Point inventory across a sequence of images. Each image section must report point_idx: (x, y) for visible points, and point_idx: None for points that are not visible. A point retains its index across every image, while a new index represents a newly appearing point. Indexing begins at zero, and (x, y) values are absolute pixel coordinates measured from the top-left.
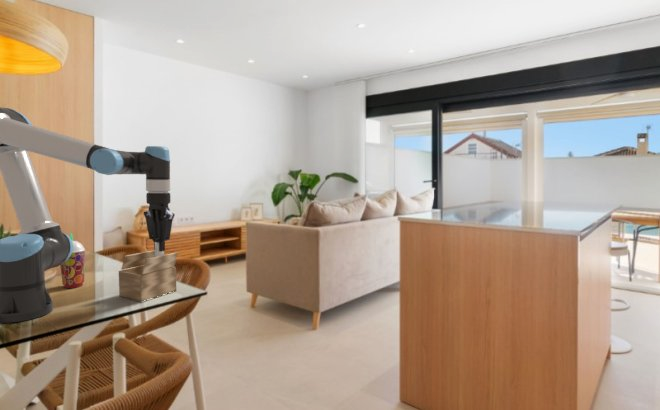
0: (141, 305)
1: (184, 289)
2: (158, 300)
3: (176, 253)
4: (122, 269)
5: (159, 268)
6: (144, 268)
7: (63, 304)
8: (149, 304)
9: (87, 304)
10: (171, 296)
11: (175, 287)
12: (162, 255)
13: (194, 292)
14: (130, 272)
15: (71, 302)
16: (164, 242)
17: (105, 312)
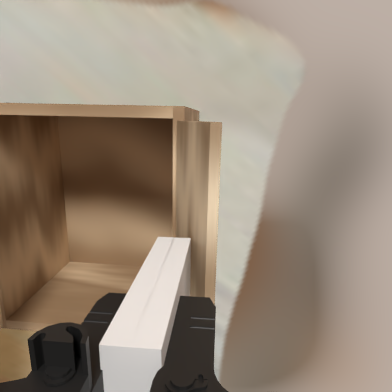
0: (222, 294)
1: (206, 67)
2: (230, 231)
3: (219, 139)
4: (1, 319)
5: None
6: None
7: (8, 380)
8: (239, 276)
9: None
10: (236, 172)
11: (197, 116)
12: (205, 291)
13: (285, 78)
14: (13, 263)
15: (6, 361)
16: (214, 377)
17: None
